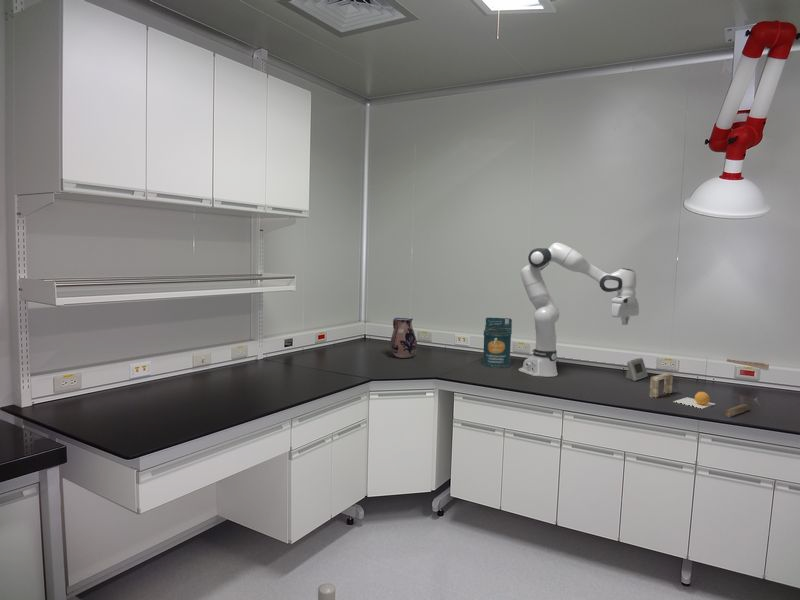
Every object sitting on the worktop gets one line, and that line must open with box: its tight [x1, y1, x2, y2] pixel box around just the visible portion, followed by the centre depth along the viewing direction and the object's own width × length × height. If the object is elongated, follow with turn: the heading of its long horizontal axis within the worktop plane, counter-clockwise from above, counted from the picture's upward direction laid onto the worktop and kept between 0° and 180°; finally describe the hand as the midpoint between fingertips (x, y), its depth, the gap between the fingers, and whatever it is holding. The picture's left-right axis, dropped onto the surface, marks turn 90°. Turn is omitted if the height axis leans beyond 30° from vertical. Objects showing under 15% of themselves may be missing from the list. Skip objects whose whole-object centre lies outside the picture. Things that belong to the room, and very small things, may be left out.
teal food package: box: [482, 317, 513, 369], centre depth 321 cm, size 16×16×28 cm
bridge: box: [649, 372, 674, 399], centre depth 259 cm, size 3×15×10 cm, turn 125°
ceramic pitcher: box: [389, 317, 418, 359], centre depth 343 cm, size 18×21×25 cm
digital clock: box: [625, 357, 648, 382], centre depth 292 cm, size 16×9×11 cm, turn 121°
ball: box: [694, 391, 710, 405], centre depth 244 cm, size 6×6×6 cm
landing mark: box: [672, 396, 716, 410], centre depth 246 cm, size 13×13×1 cm
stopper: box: [723, 403, 749, 418], centre depth 232 cm, size 2×18×2 cm, turn 125°
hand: (624, 324), depth 282 cm, fingers closed
